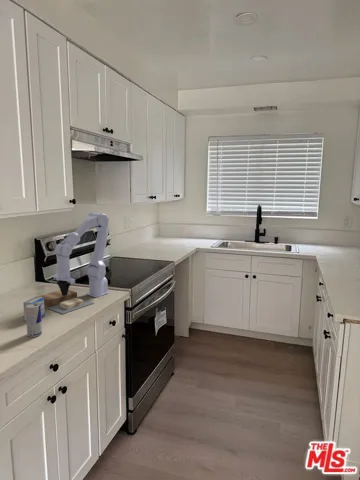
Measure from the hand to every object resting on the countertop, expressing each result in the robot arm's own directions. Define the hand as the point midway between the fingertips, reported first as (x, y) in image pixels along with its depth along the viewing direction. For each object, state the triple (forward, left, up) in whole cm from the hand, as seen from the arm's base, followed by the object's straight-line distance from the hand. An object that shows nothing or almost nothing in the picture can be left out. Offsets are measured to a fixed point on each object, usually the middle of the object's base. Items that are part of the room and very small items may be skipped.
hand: (64, 295), depth 164 cm
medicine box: (+19, +5, -5) cm, 20 cm away
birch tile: (0, +6, -2) cm, 6 cm away
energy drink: (+28, +20, -5) cm, 35 cm away
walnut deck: (0, -6, -4) cm, 7 cm away
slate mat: (0, +5, -4) cm, 7 cm away
